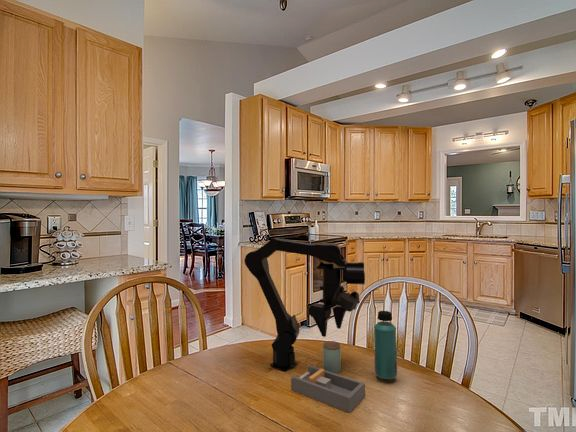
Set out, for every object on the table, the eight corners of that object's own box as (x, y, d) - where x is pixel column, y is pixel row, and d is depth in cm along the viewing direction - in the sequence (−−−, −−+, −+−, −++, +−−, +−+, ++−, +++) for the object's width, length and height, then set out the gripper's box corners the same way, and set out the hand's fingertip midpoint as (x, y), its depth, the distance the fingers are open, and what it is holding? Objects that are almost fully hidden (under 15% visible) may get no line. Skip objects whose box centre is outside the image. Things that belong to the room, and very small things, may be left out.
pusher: (308, 389, 90) (308, 377, 90) (321, 380, 95) (321, 368, 95) (321, 394, 87) (321, 382, 87) (334, 384, 92) (333, 372, 92)
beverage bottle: (398, 385, 94) (398, 315, 94) (374, 383, 95) (374, 314, 95) (395, 374, 100) (395, 309, 100) (373, 372, 101) (373, 308, 101)
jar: (319, 370, 103) (319, 344, 103) (328, 363, 108) (328, 339, 108) (335, 375, 100) (335, 349, 100) (343, 368, 104) (343, 343, 104)
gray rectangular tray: (291, 389, 92) (291, 377, 92) (309, 376, 99) (309, 365, 99) (349, 412, 81) (349, 398, 81) (365, 396, 88) (365, 382, 88)
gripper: (339, 292, 91) (339, 348, 91) (367, 281, 106) (367, 329, 106) (306, 286, 98) (306, 338, 98) (337, 277, 113) (337, 322, 113)
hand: (331, 332), depth 104 cm, fingers open, 9 cm apart
